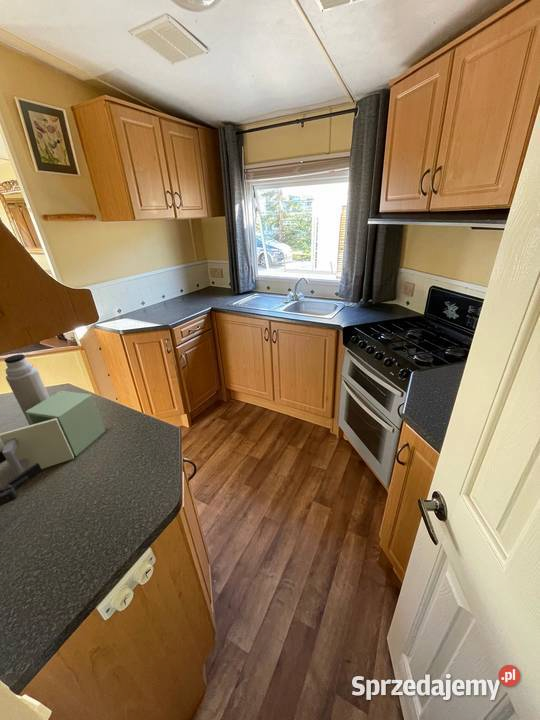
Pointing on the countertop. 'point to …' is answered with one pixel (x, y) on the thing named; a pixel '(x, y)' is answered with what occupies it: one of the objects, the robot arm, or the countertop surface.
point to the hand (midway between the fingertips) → (24, 459)
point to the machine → (71, 417)
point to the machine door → (36, 446)
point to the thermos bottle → (25, 382)
